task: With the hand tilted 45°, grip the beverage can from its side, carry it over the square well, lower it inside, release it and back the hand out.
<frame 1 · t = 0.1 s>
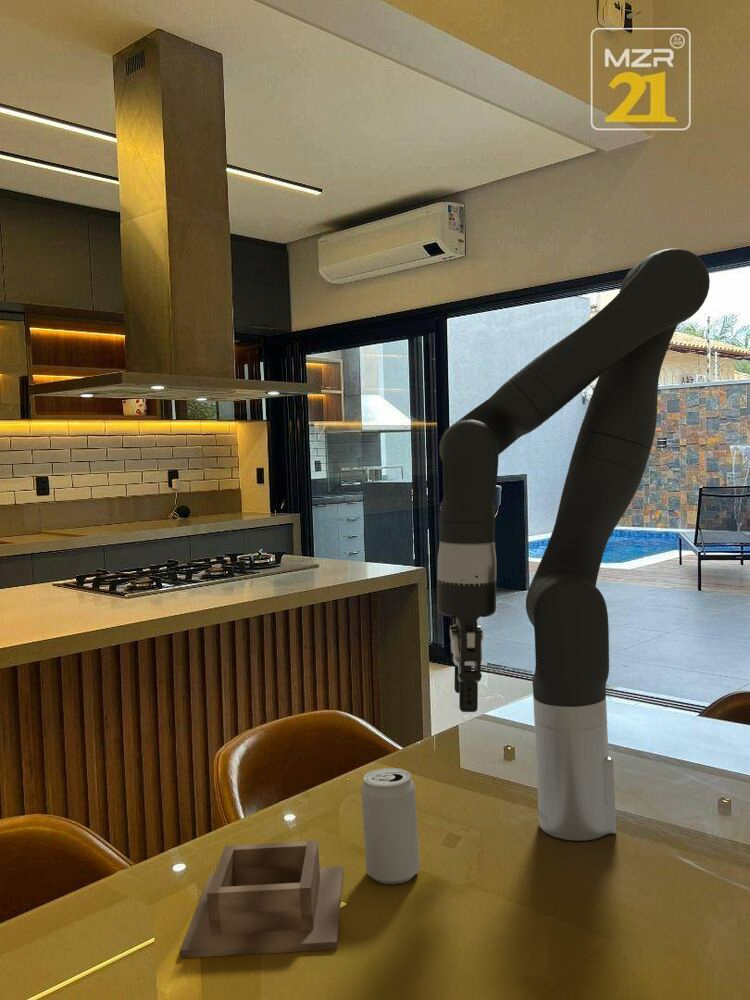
hand: (465, 701, 112), 17 cm above the table, tool pointing down, fingers open, 8 cm apart
well: (268, 911, 96), on the table
beverage can: (393, 875, 103), on the table
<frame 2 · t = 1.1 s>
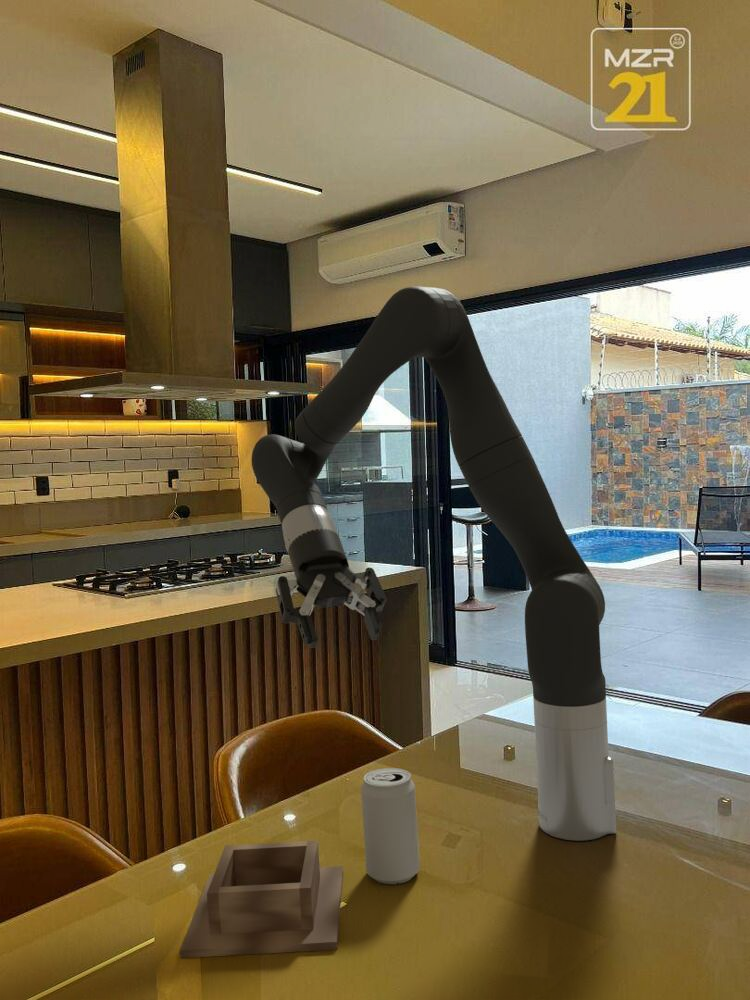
hand: (345, 640, 112), 26 cm above the table, tool tilted 45°, fingers open, 8 cm apart
nothing on the table moved.
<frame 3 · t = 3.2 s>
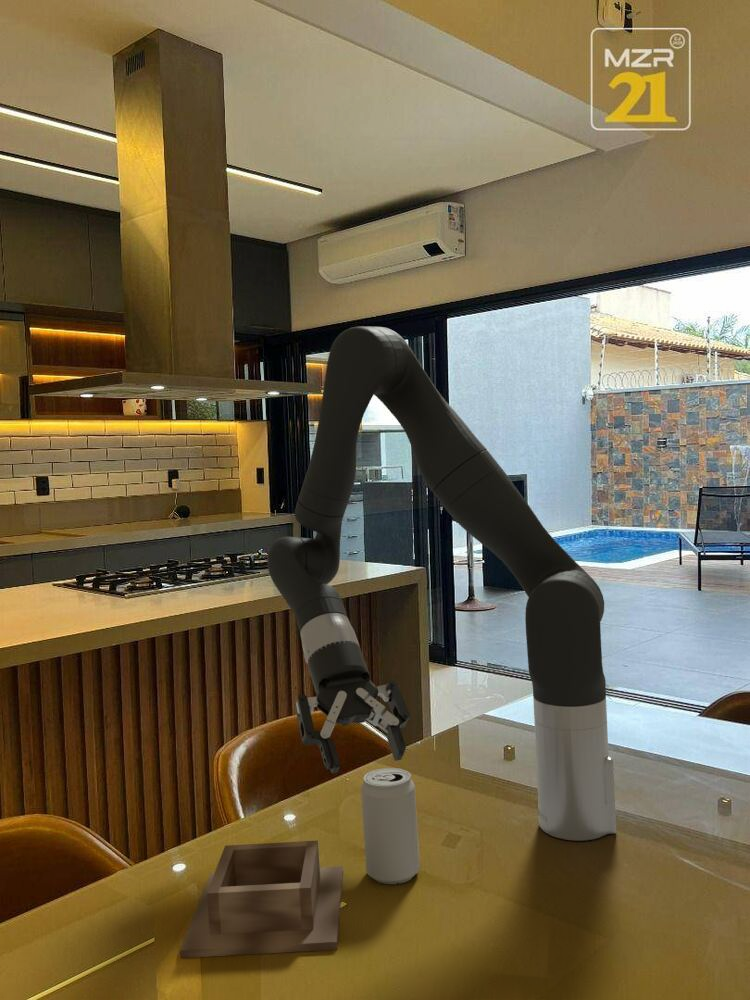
hand: (368, 763, 108), 11 cm above the table, tool tilted 45°, fingers open, 8 cm apart
nothing on the table moved.
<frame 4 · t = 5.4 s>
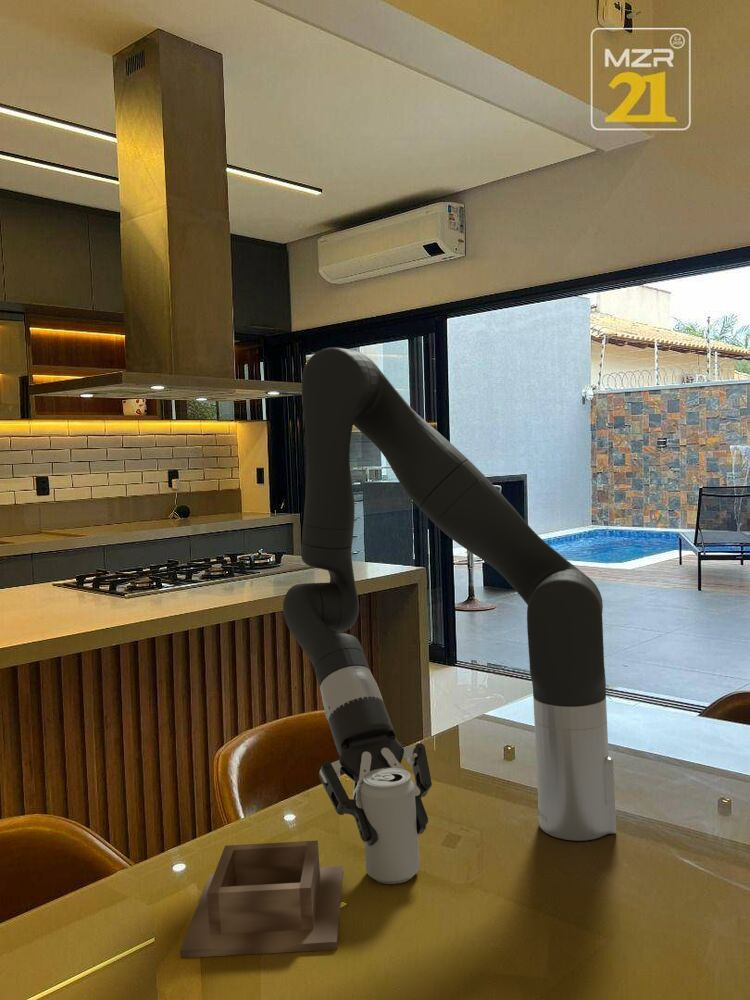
hand: (397, 836, 101), 5 cm above the table, tool tilted 45°, fingers closed on beverage can, 5 cm apart
beverage can: (393, 875, 103), on the table, touching gripper
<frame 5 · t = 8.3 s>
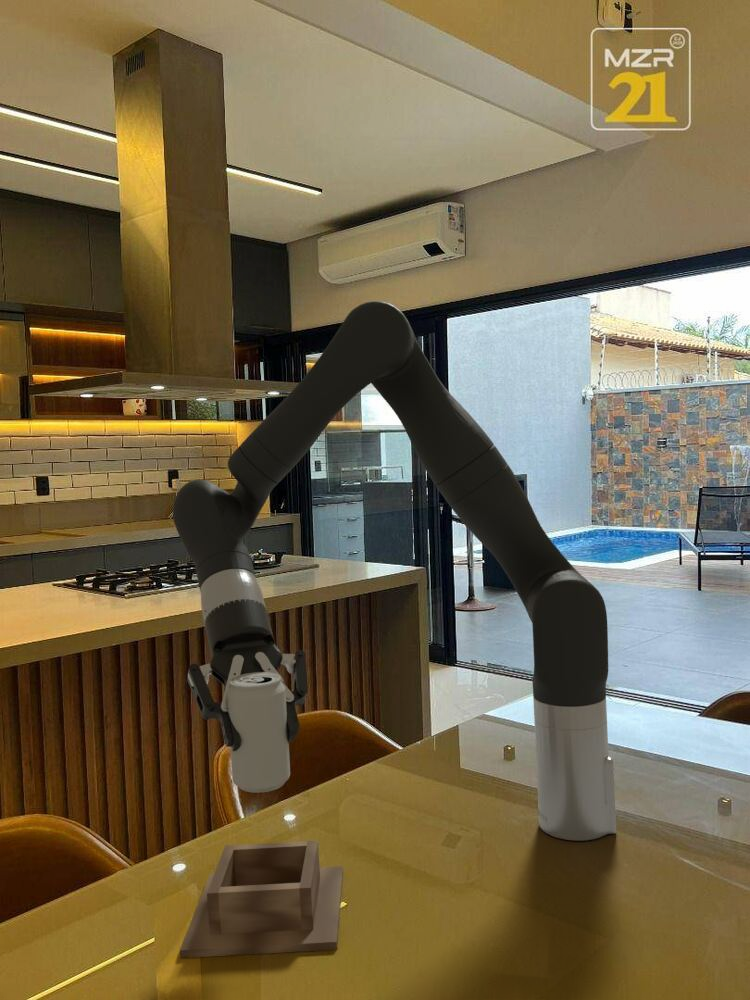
hand: (264, 742, 94), 19 cm above the table, tool tilted 45°, fingers closed on beverage can, 5 cm apart
beverage can: (261, 785, 96), point 14 cm above the table, touching gripper
when the fingers open (8 cm above the table, at t = 11.2 s): beverage can moves 1 cm, resting on well.
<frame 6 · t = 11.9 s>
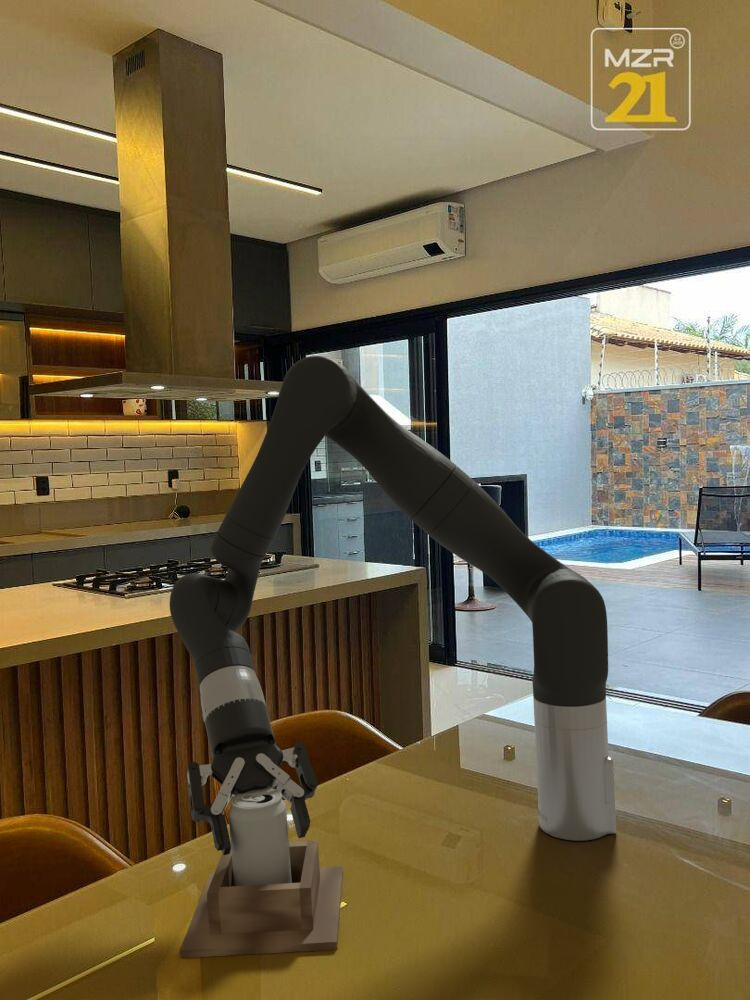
hand: (265, 843, 95), 8 cm above the table, tool tilted 45°, fingers open, 8 cm apart
beverage can: (264, 902, 97), point 1 cm above the table, touching well
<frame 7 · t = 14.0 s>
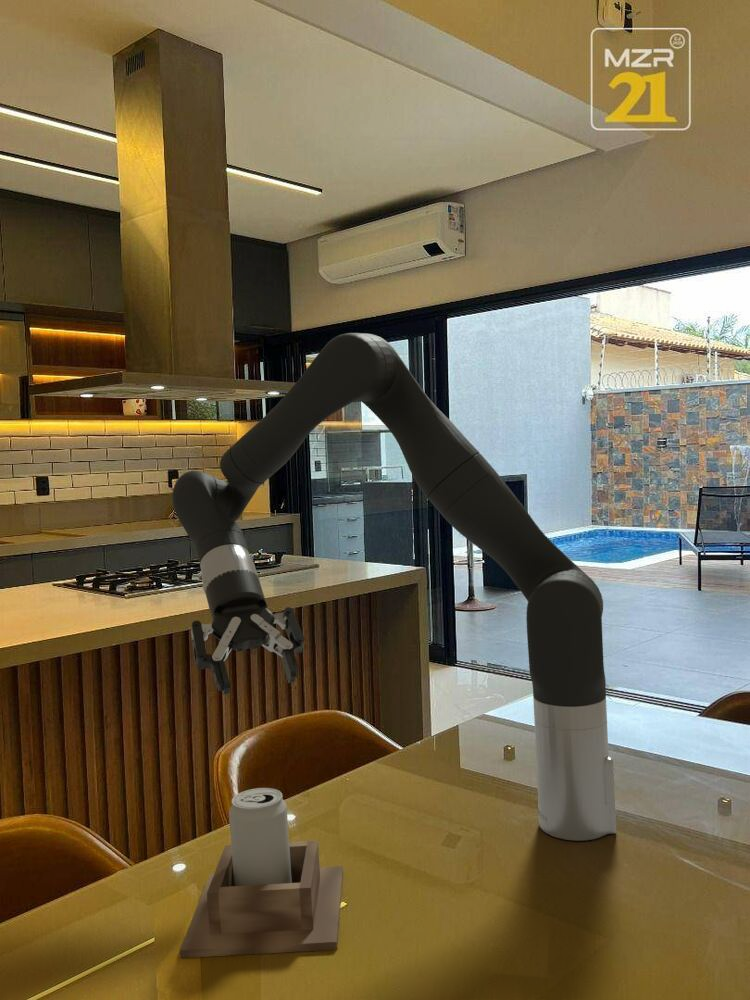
hand: (260, 685, 110), 22 cm above the table, tool tilted 45°, fingers open, 8 cm apart
nothing on the table moved.
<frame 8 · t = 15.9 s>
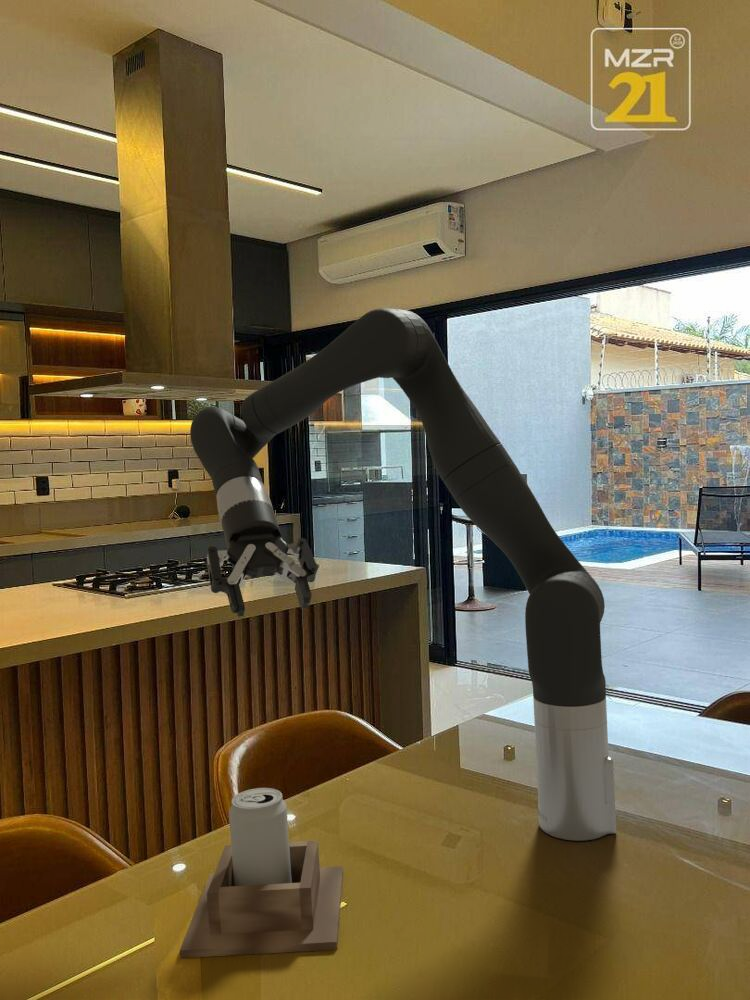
hand: (274, 609, 112), 31 cm above the table, tool tilted 45°, fingers open, 8 cm apart
nothing on the table moved.
at the end: beverage can 0.9 cm off-centre on the well, point 0.6 cm above the well's base; beverage can tilted 0°; the gripper is holding nothing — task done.
